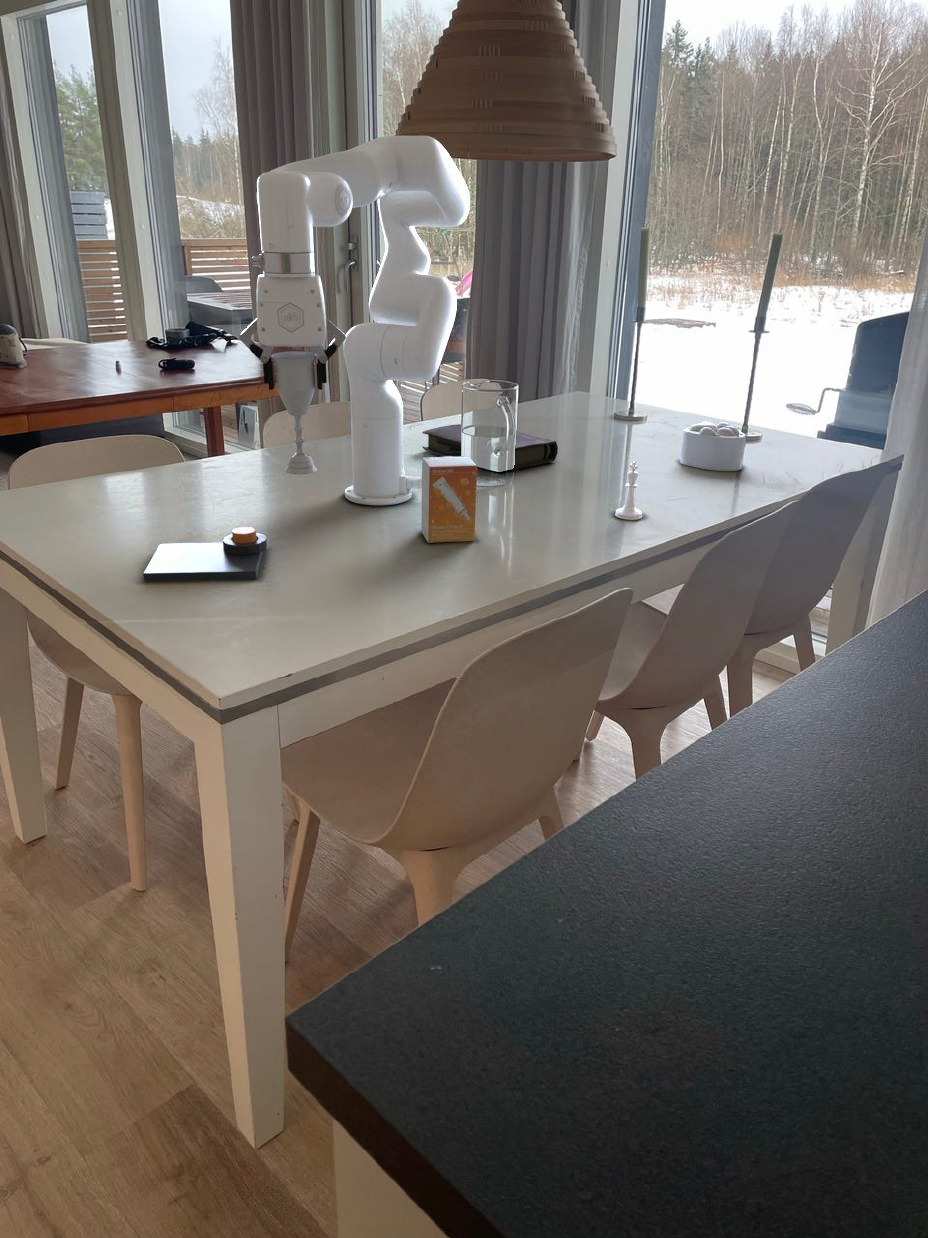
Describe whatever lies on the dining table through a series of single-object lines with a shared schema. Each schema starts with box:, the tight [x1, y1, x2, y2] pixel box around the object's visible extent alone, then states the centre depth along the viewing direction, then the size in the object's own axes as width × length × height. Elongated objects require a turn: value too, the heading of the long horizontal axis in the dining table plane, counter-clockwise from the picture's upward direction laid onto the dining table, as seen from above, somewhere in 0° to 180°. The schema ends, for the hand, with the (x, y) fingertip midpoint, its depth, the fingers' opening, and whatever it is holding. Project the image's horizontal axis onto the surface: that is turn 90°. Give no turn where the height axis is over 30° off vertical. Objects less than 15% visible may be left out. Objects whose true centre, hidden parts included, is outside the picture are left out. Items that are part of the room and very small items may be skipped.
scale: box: [142, 532, 268, 583], centre depth 141 cm, size 17×13×3 cm
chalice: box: [270, 350, 318, 476], centre depth 145 cm, size 7×7×18 cm
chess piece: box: [614, 461, 643, 521], centre depth 167 cm, size 5×5×10 cm
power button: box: [231, 526, 257, 543], centre depth 144 cm, size 4×4×2 cm
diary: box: [422, 423, 559, 471], centre depth 206 cm, size 19×25×5 cm
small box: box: [421, 456, 478, 544], centre depth 154 cm, size 8×6×13 cm
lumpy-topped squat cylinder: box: [679, 421, 747, 472], centre depth 203 cm, size 10×13×9 cm
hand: (296, 387), depth 144 cm, fingers closed on chalice, 6 cm apart
